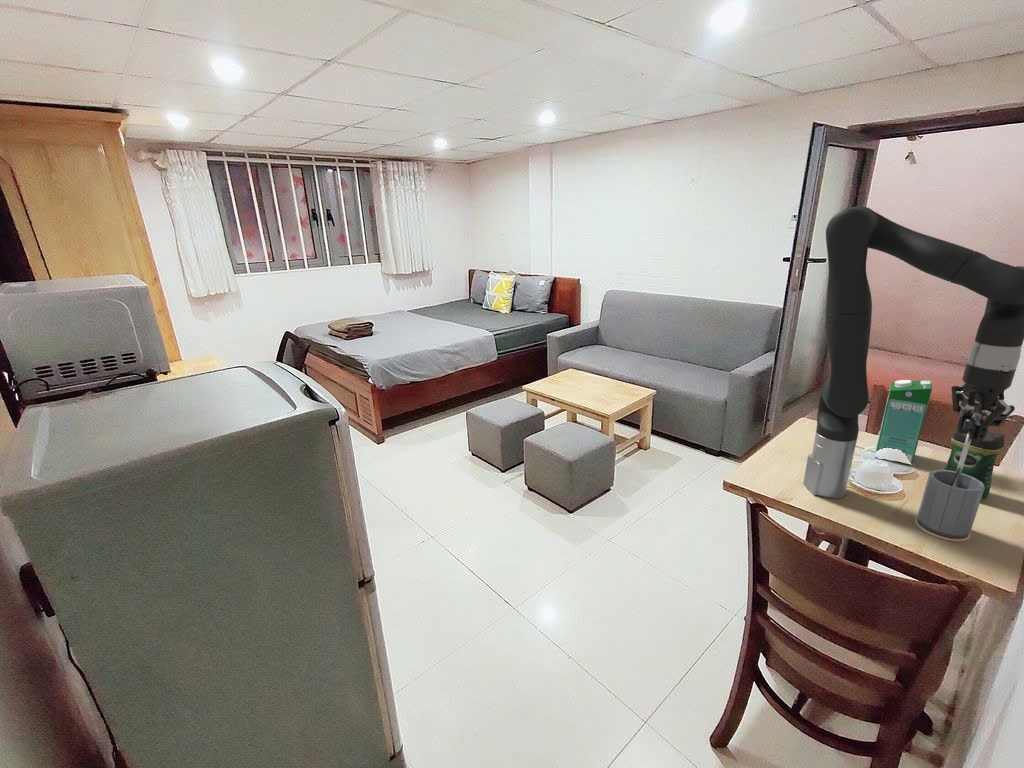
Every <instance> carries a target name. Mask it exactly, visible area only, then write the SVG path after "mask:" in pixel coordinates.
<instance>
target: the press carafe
mask: <svg viewBox="0 0 1024 768" xmlns="http://www.w3.org/2000/svg"><path fill="white" fill-rule="evenodd" d="M955 473H956V472H955V471H950V470H944V469H934V470H932V471H929V473H928V476H927V481H926V484H925V487H924V491H923V495H922V499H921V501H920V505H919V509H918V513H917V516H916V517H915V518H914V524H915V526H916V527H917V528H918V529H919V530H920V531H922V532H923V533H926V534H927V535H929V536H931V537H933V538H936V539H939V540H943V541H946V542H952V543H953V542H954V543H964V542H967V541H969V540H970V538H971V531H972V528H973V526H974V522H975V519H976V515H977V514H978V510H979V507H980V504H981V501H982V499H981V498H982V495H983V492H984V489H985V487H984V485H983V483H982V482H980V481H979V480H977V479H976V478H974V477H972V476H969V475H966V474H963V473H961V475H960V478H959V482H958V485H957V486H959V487H962V488H964V489H962V488H957V487H952V486H950V485H947V484H952V483H953V480H954V476H955ZM945 483H946V484H945Z"/></svg>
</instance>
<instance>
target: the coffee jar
mask: <svg viewBox="0 0 1024 768" xmlns="http://www.w3.org/2000/svg"><path fill="white" fill-rule="evenodd" d="M966 436H967V434H960V433H958V432H957V428H956V429H955V430H954V433H953V434H952V436H951V439H950V441H951V450H950V454H949V456H948V457H949V458H948V460H947V463H946V464H945V467H944V469H943V470H950V471H955V472H956V470H957V466H958V463H959V460H960V456H961V453H962V450H963V446H964V443H965V440H966ZM1004 447H1005V434H1002V433H999V432H994V431H990V430H987V433H986V436H985V438H984V439H983V440H982V441H973V440H971V442H970V446H969V449H968V452H967V456H966V459H965V462H964V465H963V469H962V472H961V473H963V474H966V475H969V476H972V477H974V478H976V479H977V480H979V481H980V482H982V483H983V485H984V487H985V489H984V492H983V495H982V498H981V500H983V499H986V498H987V497H988V496H989V495H990V490H991V485H992V478H993V473H994V467H995V463H996V459H997V457H998V455H999V454H1001V452H1003V450H1004Z"/></svg>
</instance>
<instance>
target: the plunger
mask: <svg viewBox="0 0 1024 768" xmlns="http://www.w3.org/2000/svg"><path fill="white" fill-rule="evenodd" d="M975 419H976V417H975V416H974V417H966V418H965V421H964V424H963V427H962V428H963V429H964V430H966V431H968V433H967V436H966V440H965V443H964V446H963V450H962V453H961V456H960V460H959V463H958V466H957V470H956V473H955V476H954V480H953V483H952V484H947V485H950V486H952V487H957V488H962V487H959V486H957V485H958V482H959V478H960V475H961V472H962V469H963V465H964V462H965V459H966V456H967V452H968V449H969V446H970V442H971V439H970V436H971V432H972V429H973V426H974V424H975ZM945 484H946V483H945ZM962 489H964V488H962Z"/></svg>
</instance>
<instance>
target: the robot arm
mask: <svg viewBox="0 0 1024 768" xmlns="http://www.w3.org/2000/svg"><path fill="white" fill-rule="evenodd" d="M825 243H826V251H827V262H828V279H827V287H826V288H827V289H826V305H825V337H826V345H827V351H828V355H829V359H830V360H829V361H830V374H829V375H830V376H829V378H828V379H827V380H825V382H824V383H823V385H822V387H821V390H820V396H819V401H818V408H817V413H816V414H817V416H816V428H815V429H816V430H815V435H814V441H813V447H812V452H811V453H810V454H808V456H807V460H806V466H805V472H804V477H803V482H802V483H803V485H804V486H805V488H806V489H808V491H809V492H810V493H811V494H812V495H813V496H820V497H824V498H827V499H840V498H843V497H845V495H846V494H847V493H846V491H847V488H848V483H849V478H850V474H851V468H852V464H853V460H854V455H855V450H856V445H857V440H858V436H859V431H860V428H859V415H860V414H861V413H863V411H865V409H866V408H867V406H868V404H869V399H870V398H869V397H870V395H869V387H868V374H867V360H868V353H869V347H870V337H871V329H872V328H871V327H872V315H873V314H872V313H873V312H872V311H873V299H872V293H871V288H870V284H869V280H868V275H867V259H868V249H871V250H876V251H880V252H882V253H885V254H888V255H890V256H893V257H895V258H897V259H898V260H900V261H902V262H904V263H906V264H908V265H910V266H911V267H913V268H915V269H916V270H919V271H921V272H923V273H926V274H928V275H930V276H933V277H936V278H939V279H940V280H943V281H946V282H949V283H951V284H955V285H957V286H962V287H964V288H966V289H967V290H969V291H972V292H973V293H976V294H978V295H980V296H982V297H983V298H986V300H987V301H986V306H985V309H984V314H983V316H982V318H981V320H980V322H979V325H978V328H977V331H976V335H975V339H974V342H973V344H972V346H971V348H970V351H969V353H968V357H967V361H966V364H965V367H964V371H963V375H962V378H961V379H962V382H964V384H963V385H953V386H951V398H952V399H951V400H952V409H953V412H957V414H958V417H959V418H958V422H957V425H956V426H957V427H956V429H957V432H958V433H960V434H967V433H968V431H966V430H964V429H963V428H962V427H963V424H964V421H965V418H966V417H974V418H976V419H975V424H974V426H973V429H972V432H971V436H970V439H971V440H973V441H982V440H983V439H984V438H985V436H986V433H987V431H989V429H988V428H989V427H1000V426H1001V425H1002V424H1003V423H1004V422H1005V420H1006V419H1008V417H1009V416H1011V414H1012V413H1013V412H1014V411H1015V410H1016V409H1015V406H1014V405H1012V404H1011V405H1008V403H1007V402H1006V401H1005V391H1006V390H1007V389H1009V388H1010V387H1012V383H1013V381H1014V378H1015V374H1016V371H1017V367H1018V366H1019V365H1018V364H1019V361H1020V359H1021V352H1022V346H1023V343H1024V266H1016V265H1015V266H1014V265H1010V264H1007V263H1005V262H1002V261H998V260H995V259H993V258H990V257H989V256H987V255H986V254H984V253H982V252H979V251H976V250H974V249H970V248H968V247H965V246H962V245H959V244H957V243H954V242H950V241H946V240H943V239H940V238H937V237H934V236H930V235H927V234H924V233H922V232H919V231H916V230H913V229H911V228H908V227H905V226H903V225H901V224H898V223H897V222H894V221H892V220H891V219H889V218H887V217H885V216H883V215H882V214H880V213H878V212H876V211H874V210H873V209H871V208H870V207H867V206H863V205H862V206H860V205H859V206H853V207H848V208H845V209H842V210H841V211H838V212H836V214H835V213H834V215H833V216H832V217H831V218H830V219H829V221H828V224H827V225H826V229H825ZM960 402H961V403H960ZM984 416H985V418H984Z"/></svg>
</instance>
